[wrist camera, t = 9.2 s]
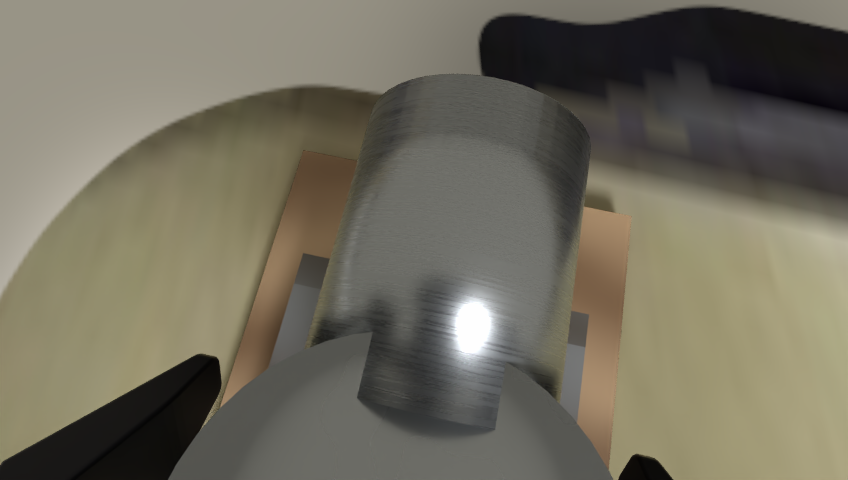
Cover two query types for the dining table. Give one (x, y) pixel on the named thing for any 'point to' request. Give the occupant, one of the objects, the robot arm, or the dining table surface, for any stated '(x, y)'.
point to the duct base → (308, 260)
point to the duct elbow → (432, 306)
